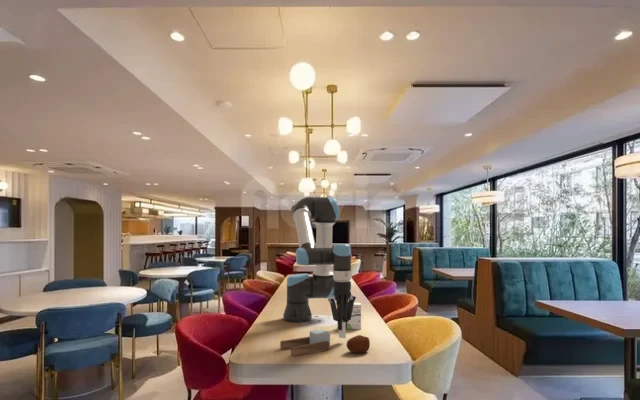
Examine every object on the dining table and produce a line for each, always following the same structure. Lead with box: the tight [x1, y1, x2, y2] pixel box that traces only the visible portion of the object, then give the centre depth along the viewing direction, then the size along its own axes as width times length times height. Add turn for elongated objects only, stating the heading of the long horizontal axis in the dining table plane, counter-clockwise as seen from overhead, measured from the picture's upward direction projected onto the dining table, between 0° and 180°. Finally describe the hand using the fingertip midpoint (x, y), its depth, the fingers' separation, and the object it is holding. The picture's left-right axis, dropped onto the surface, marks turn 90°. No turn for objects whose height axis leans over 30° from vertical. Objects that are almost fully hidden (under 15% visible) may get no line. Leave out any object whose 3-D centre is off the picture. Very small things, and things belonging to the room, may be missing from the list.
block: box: [309, 329, 331, 349], centre depth 160 cm, size 6×6×6 cm
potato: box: [345, 334, 371, 354], centre depth 153 cm, size 7×9×6 cm
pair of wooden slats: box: [279, 336, 330, 357], centre depth 157 cm, size 11×16×3 cm
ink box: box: [346, 301, 362, 330], centre depth 191 cm, size 9×5×12 cm, turn 88°
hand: (342, 337), depth 166 cm, fingers closed
